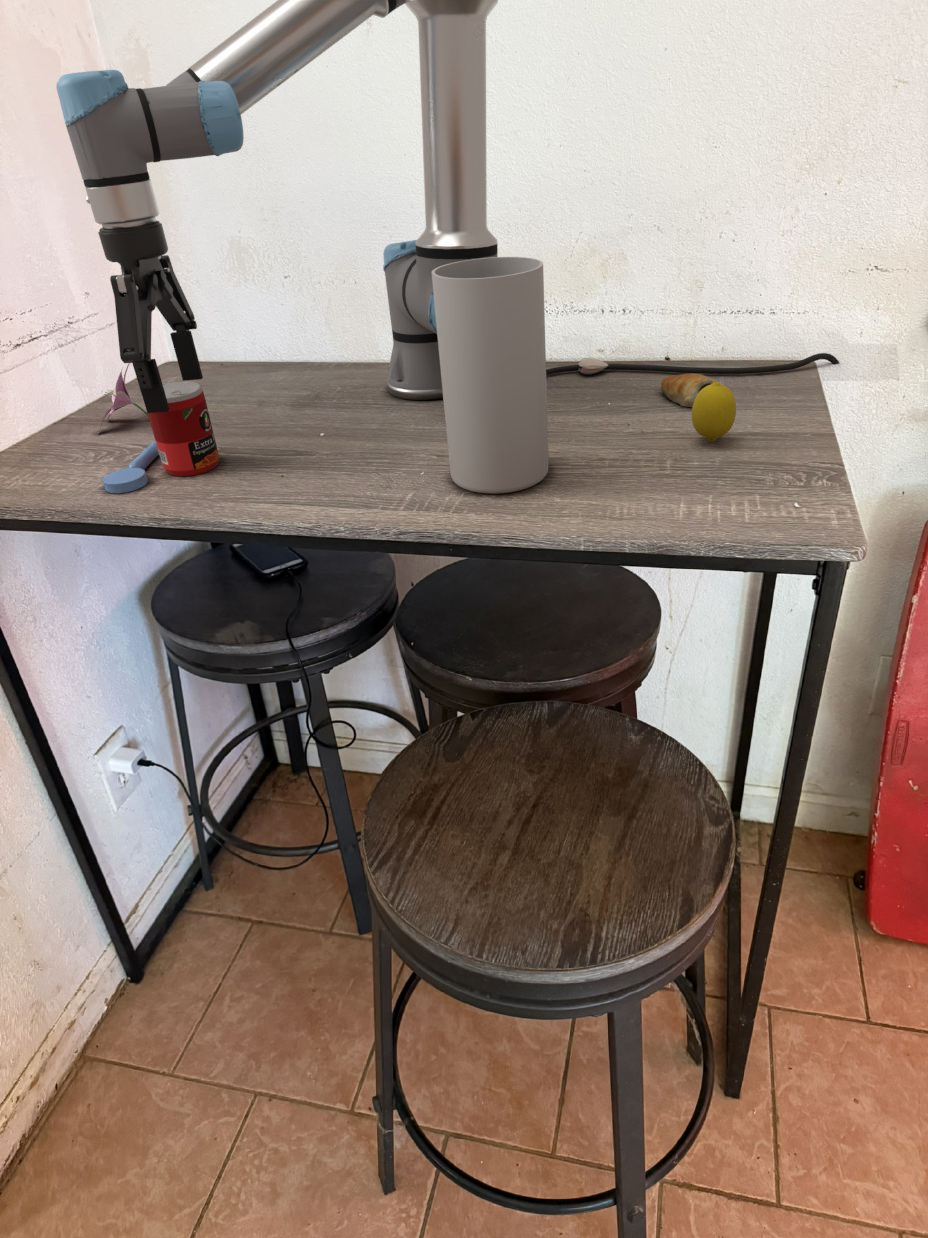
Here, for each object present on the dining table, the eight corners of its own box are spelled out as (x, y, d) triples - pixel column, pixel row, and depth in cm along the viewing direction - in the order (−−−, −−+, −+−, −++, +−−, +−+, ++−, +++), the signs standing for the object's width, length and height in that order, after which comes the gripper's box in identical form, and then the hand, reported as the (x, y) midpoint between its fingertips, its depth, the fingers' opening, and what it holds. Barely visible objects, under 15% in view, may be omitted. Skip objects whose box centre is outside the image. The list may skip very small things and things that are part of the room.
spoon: (156, 437, 131) (153, 426, 130) (191, 436, 130) (188, 424, 129) (98, 494, 113) (94, 482, 112) (138, 492, 112) (134, 479, 111)
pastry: (648, 394, 130) (649, 369, 128) (682, 385, 132) (684, 361, 130) (689, 409, 123) (691, 383, 121) (725, 400, 125) (727, 374, 123)
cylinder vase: (518, 502, 100) (508, 280, 87) (432, 486, 106) (409, 277, 93) (565, 464, 109) (562, 257, 96) (482, 452, 115) (469, 255, 102)
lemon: (734, 435, 113) (740, 375, 109) (731, 450, 109) (737, 389, 104) (692, 433, 115) (696, 374, 111) (687, 448, 110) (691, 387, 106)
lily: (136, 413, 146) (92, 370, 140) (182, 388, 140) (139, 342, 134) (108, 458, 138) (60, 415, 132) (156, 434, 133) (108, 387, 127)
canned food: (206, 477, 115) (185, 398, 109) (153, 476, 117) (130, 398, 111) (230, 456, 121) (212, 380, 115) (179, 456, 123) (159, 381, 117)
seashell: (578, 370, 144) (578, 355, 142) (608, 368, 143) (608, 353, 142) (578, 377, 140) (578, 362, 139) (608, 376, 139) (608, 361, 138)
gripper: (138, 211, 113) (180, 369, 124) (51, 242, 92) (112, 428, 103) (192, 206, 112) (230, 365, 124) (117, 236, 91) (171, 424, 103)
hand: (176, 394), depth 114 cm, fingers open, 13 cm apart
